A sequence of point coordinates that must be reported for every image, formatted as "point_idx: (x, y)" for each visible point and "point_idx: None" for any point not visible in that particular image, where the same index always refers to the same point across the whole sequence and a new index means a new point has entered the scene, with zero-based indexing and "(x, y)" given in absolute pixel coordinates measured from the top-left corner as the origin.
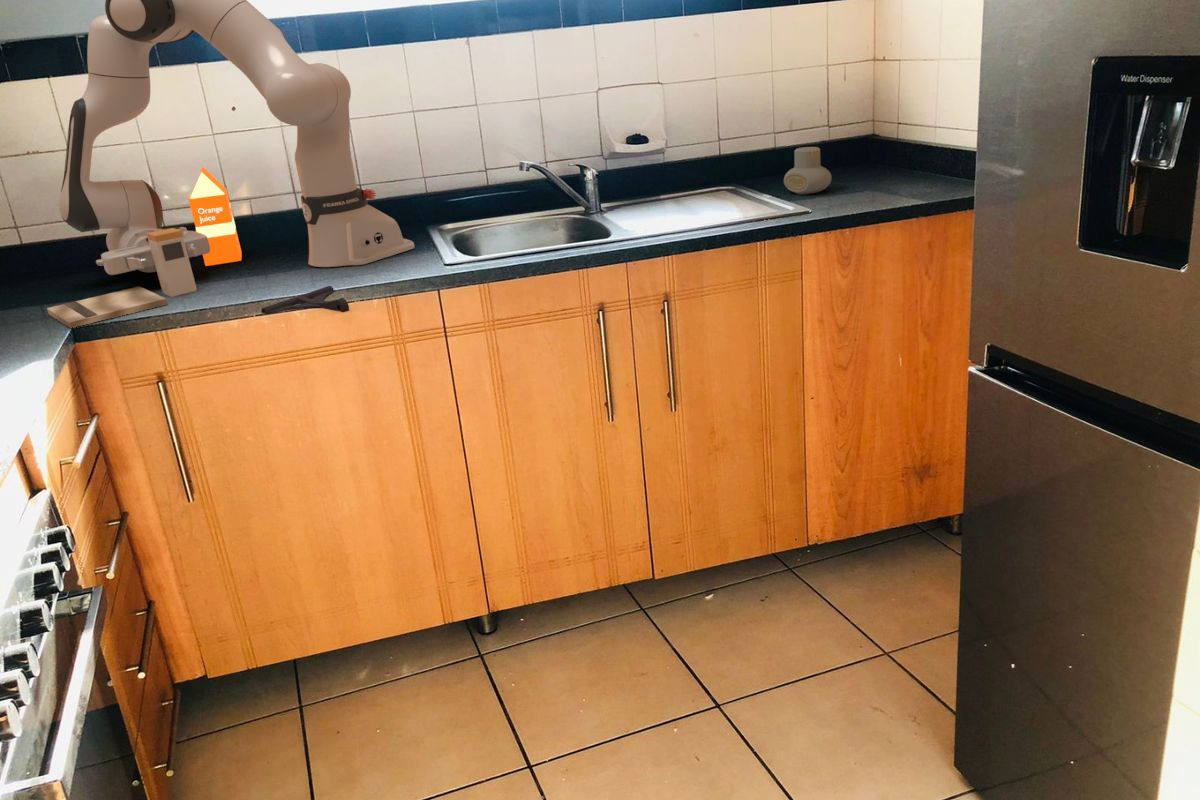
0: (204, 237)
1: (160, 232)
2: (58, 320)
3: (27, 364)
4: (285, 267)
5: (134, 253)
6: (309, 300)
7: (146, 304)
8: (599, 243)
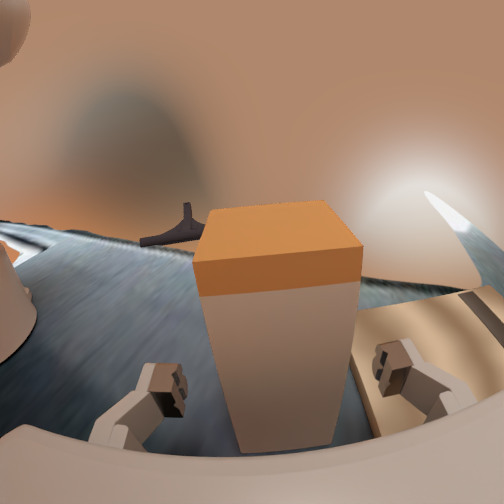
0: (22, 425)
1: (289, 222)
2: None
3: (468, 230)
4: (22, 383)
5: (445, 417)
6: (187, 225)
7: (377, 309)
8: (8, 236)
